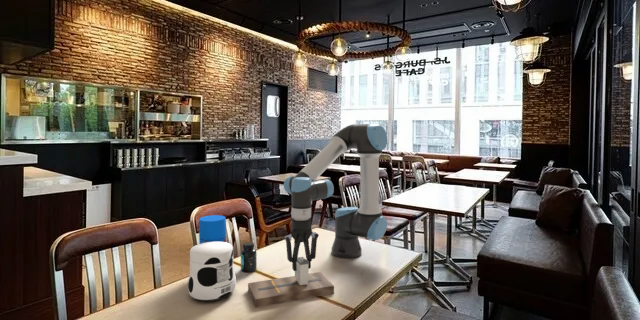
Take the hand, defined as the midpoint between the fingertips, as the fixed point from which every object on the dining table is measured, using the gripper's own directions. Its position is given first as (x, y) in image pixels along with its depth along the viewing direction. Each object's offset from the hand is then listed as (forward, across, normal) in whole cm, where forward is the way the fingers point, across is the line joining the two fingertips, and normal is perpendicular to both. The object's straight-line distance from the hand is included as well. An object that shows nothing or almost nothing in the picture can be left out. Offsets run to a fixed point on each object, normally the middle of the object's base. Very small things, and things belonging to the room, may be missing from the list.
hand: (301, 277), depth 137 cm
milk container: (+5, -32, +9) cm, 34 cm away
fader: (+2, 0, 0) cm, 2 cm away
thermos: (+5, -30, +26) cm, 40 cm away
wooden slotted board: (+5, -4, 0) cm, 7 cm away
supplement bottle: (+5, -15, +27) cm, 31 cm away
